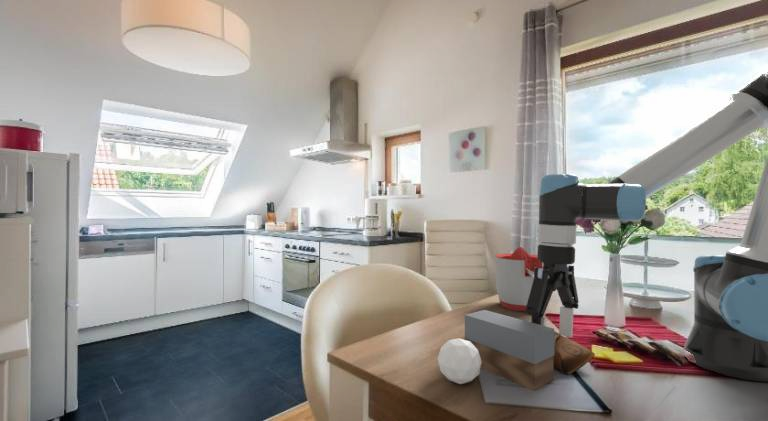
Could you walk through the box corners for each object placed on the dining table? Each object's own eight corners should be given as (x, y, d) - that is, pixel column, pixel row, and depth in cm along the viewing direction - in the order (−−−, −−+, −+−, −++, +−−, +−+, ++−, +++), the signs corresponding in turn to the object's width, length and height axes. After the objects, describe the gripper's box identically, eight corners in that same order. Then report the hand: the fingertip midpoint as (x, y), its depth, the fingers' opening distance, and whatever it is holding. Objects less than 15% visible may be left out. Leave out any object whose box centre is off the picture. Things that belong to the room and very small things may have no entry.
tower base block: (553, 381, 68) (553, 355, 68) (535, 392, 64) (535, 364, 64) (482, 354, 81) (482, 332, 81) (463, 362, 77) (463, 338, 77)
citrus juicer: (514, 317, 108) (515, 250, 108) (486, 303, 125) (486, 245, 125) (561, 314, 111) (561, 249, 111) (527, 300, 128) (527, 244, 128)
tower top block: (554, 355, 68) (554, 328, 68) (534, 364, 64) (534, 335, 64) (484, 332, 81) (484, 309, 81) (464, 338, 77) (464, 314, 77)
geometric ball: (452, 369, 73) (452, 329, 73) (489, 382, 67) (489, 339, 67) (429, 382, 67) (429, 338, 67) (467, 397, 62) (467, 350, 62)
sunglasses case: (598, 351, 72) (573, 336, 71) (582, 384, 71) (557, 369, 70) (539, 324, 90) (519, 311, 88) (526, 350, 89) (505, 337, 87)
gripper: (564, 241, 91) (560, 327, 91) (510, 244, 75) (506, 347, 75) (596, 244, 85) (592, 335, 85) (546, 248, 69) (541, 359, 69)
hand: (552, 341), depth 80 cm, fingers open, 13 cm apart
